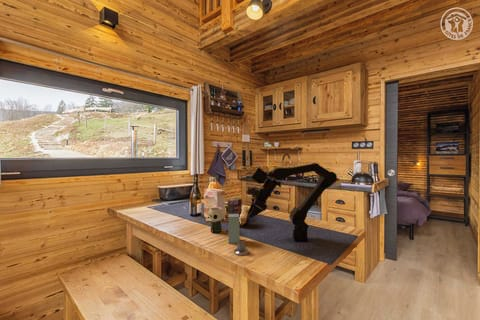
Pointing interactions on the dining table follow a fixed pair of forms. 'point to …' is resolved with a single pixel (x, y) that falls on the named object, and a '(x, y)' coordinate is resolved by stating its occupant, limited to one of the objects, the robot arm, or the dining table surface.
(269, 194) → the robot arm
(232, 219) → the sage green block
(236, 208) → the supplement box
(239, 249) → the post
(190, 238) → the dining table surface
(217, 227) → the cream head figurine
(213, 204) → the coffeecake box
